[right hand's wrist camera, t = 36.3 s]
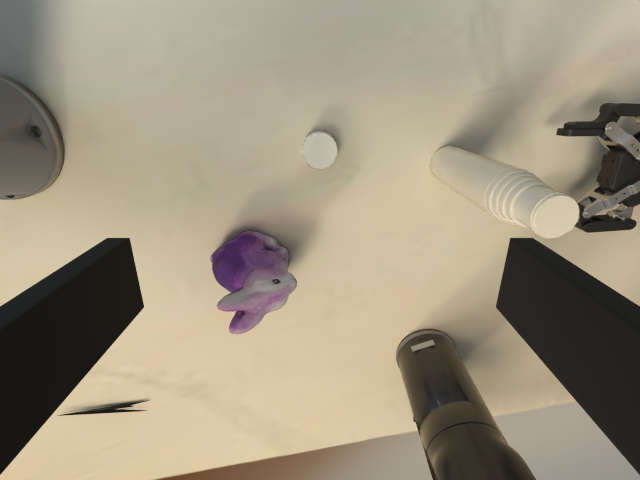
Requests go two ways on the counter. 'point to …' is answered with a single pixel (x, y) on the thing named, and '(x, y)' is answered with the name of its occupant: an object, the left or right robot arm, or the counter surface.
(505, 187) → the bottle
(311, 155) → the cap
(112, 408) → the feather
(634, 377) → the right robot arm
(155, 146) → the counter surface
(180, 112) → the counter surface
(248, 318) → the figurine
